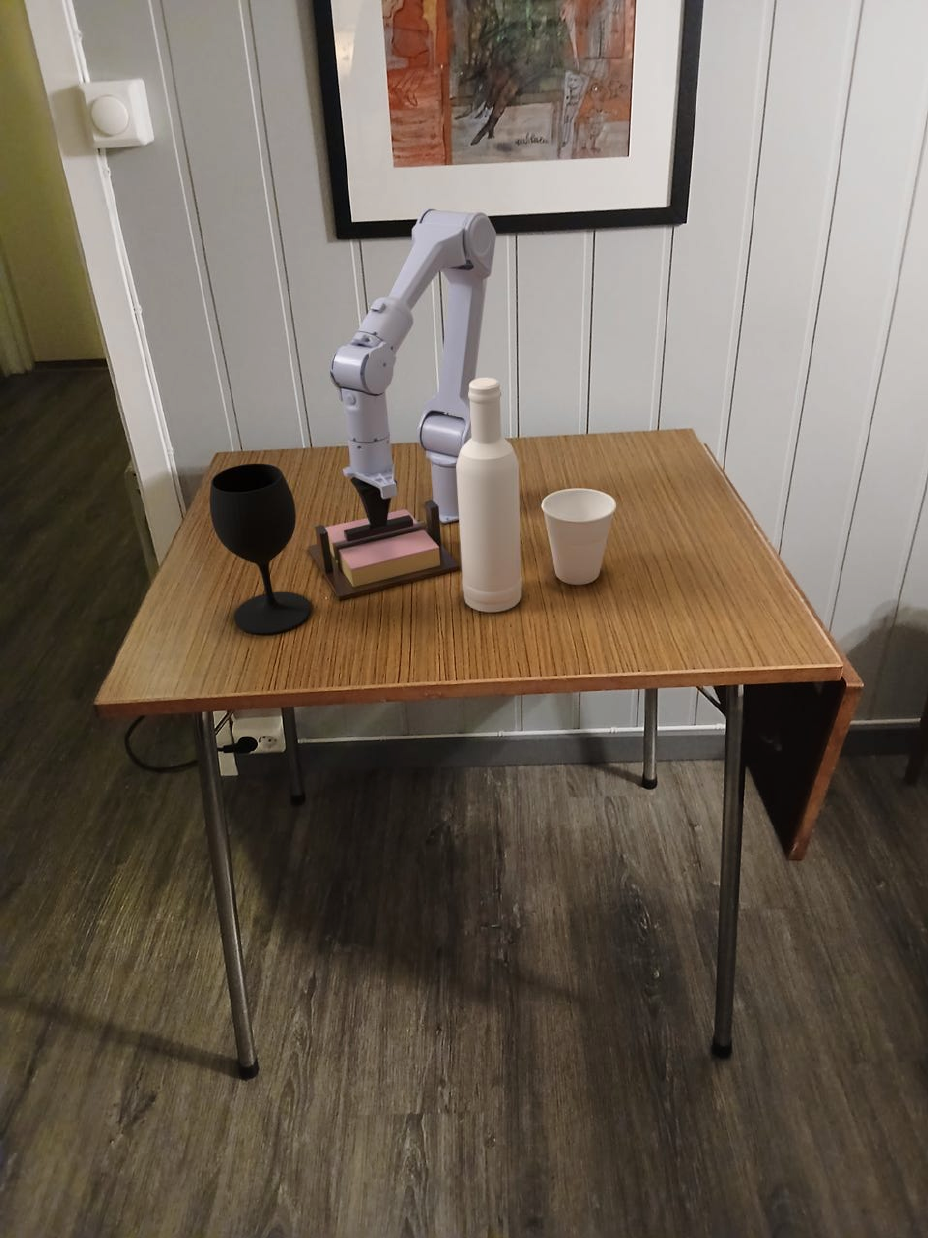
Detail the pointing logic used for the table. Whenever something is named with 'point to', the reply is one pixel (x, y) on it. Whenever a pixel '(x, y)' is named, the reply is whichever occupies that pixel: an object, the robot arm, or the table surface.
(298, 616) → the wine glass
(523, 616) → the table surface
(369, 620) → the table surface
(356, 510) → the table surface
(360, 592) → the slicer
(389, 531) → the knife
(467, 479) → the bottle
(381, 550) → the pink sponge pad
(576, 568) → the cup
